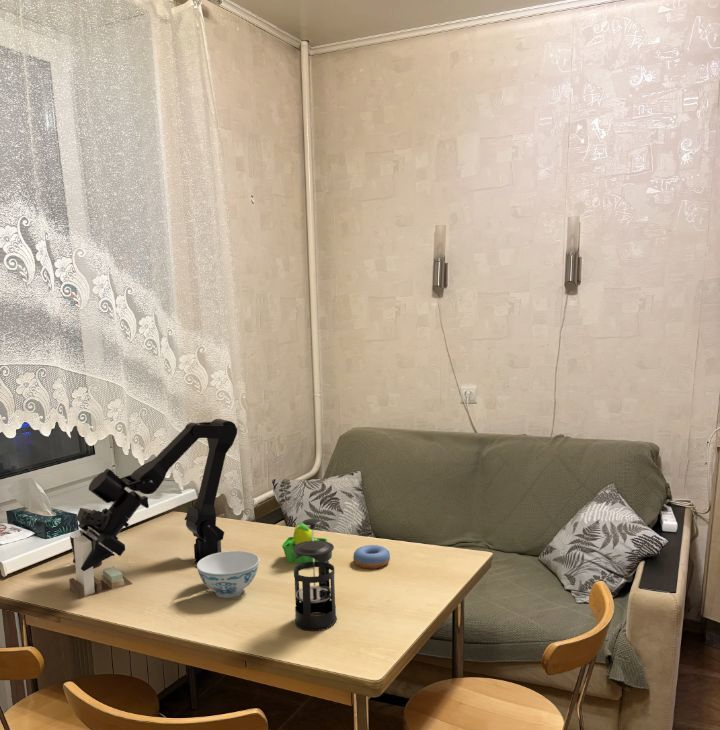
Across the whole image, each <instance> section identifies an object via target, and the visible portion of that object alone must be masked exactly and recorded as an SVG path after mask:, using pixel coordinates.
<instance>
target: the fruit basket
mask: <svg viewBox="0 0 720 730" xmlns="http://www.w3.org/2000/svg"><path fill="white" fill-rule="evenodd" d="M306 541H312V530H311V528H309V527H308V525H305V524H303V523H299V524H298V525H296V526H295V528H294V532H293V536H289V537H287V539H286V540H285V541H284V542H283V543H282V544H281V547H282V549H283V552H284V555H285V558H286V562H287V563H294V564H302V563H306V562H313V558H312V557H309V556H300V557H299V558H298V559H295V553H294V552H293V547H294V546H295V545H297V544H299V543H302V542H306ZM314 541H326V542H328V538H326V537H325V538H322V537H315V536H314ZM315 561H317V560H315Z"/></svg>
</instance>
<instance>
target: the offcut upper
mask: <svg viewBox="0 0 720 730" xmlns="http://www.w3.org/2000/svg"><path fill="white" fill-rule="evenodd" d="M123 574H124V573H122V572H121V570H118V568H116V567H115V566H111V567H106V568H102V575H103V576H105V577H106V578H107V579H108V580H109V581H111V582H115V581H119V580H123V576H124V575H123Z"/></svg>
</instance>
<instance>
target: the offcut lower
mask: <svg viewBox="0 0 720 730" xmlns="http://www.w3.org/2000/svg"><path fill="white" fill-rule="evenodd" d="M101 580H103V581H104V582H105V583H106V584H107V585H108V586H110V587H111V588H112V589H113V590H115V589H114V588H117V587H120V588H122V587H121V586H124V579H123V580H119V581H115V582H111V581H109V580H108V579H107V578H106V577H105V576H103V574H101ZM124 587H125V586H124ZM117 589H118V588H117Z"/></svg>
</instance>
